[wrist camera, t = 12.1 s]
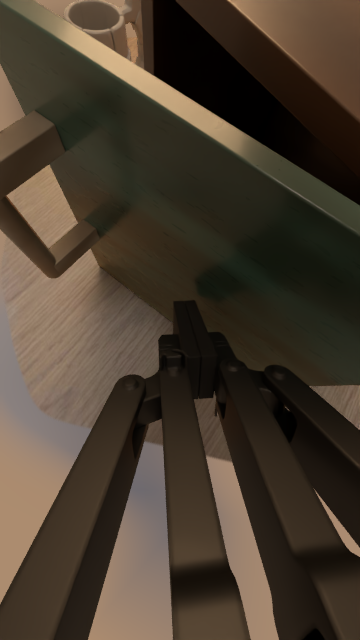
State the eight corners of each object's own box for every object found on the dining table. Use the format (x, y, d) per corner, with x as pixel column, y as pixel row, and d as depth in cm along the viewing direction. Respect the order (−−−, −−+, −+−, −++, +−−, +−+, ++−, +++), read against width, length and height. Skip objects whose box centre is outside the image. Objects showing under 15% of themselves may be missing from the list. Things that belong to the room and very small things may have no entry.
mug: (73, 114, 34) (30, -27, 22) (134, 81, 37) (123, -57, 26) (108, 144, 33) (81, 13, 21) (168, 108, 36) (172, -23, 24)
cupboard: (263, 379, 25) (612, 347, 6) (151, 229, 30) (136, -82, 10) (353, 308, 29) (761, 139, 9) (241, 183, 33) (360, -116, 13)
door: (229, 430, 23) (549, 617, 4) (65, 297, 26) (-205, 33, 7) (260, 379, 25) (591, 349, 6) (104, 260, 28) (-21, -36, 8)
